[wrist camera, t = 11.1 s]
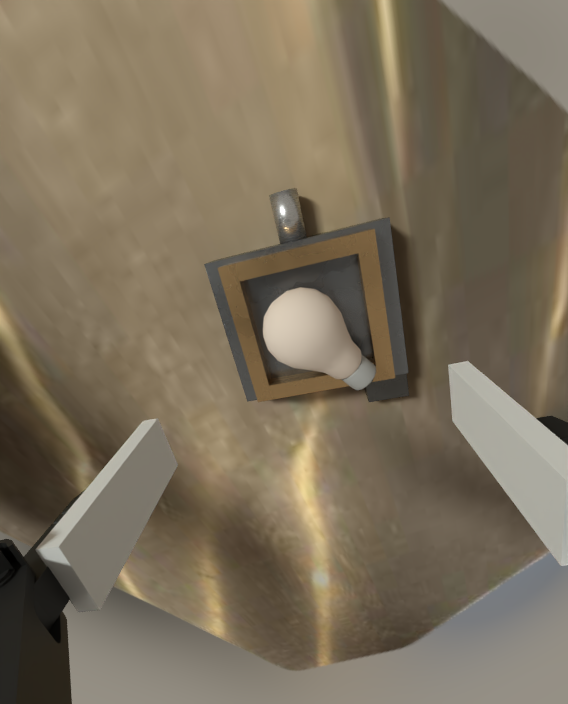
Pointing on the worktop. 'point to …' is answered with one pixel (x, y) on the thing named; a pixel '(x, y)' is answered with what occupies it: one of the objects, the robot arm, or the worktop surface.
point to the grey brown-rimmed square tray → (327, 277)
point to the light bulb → (314, 337)
